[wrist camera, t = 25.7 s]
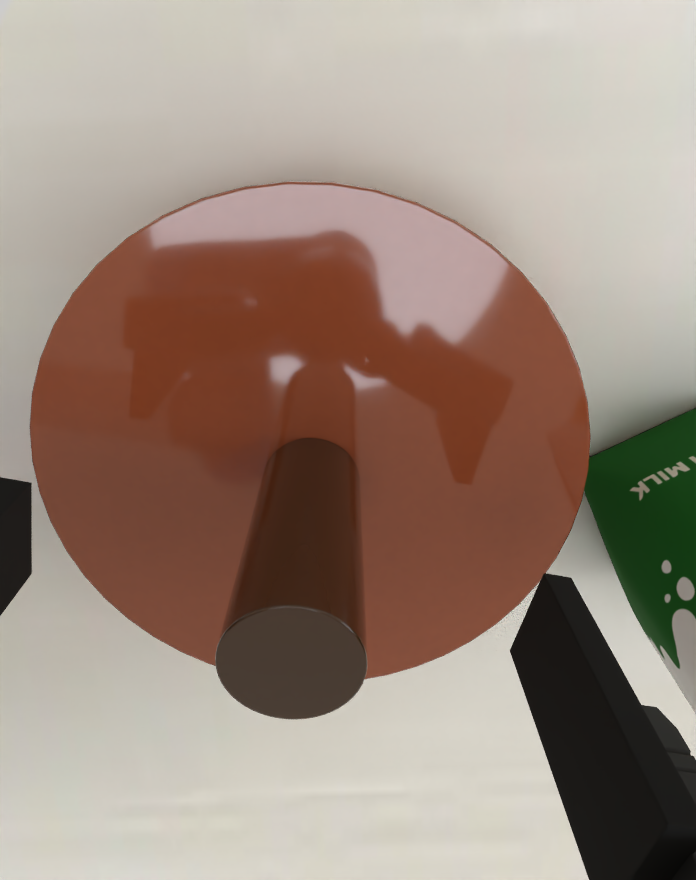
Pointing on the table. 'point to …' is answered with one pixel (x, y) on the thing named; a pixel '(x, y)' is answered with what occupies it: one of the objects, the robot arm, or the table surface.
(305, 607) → the lid
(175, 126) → the table surface
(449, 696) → the table surface
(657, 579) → the milk carton
